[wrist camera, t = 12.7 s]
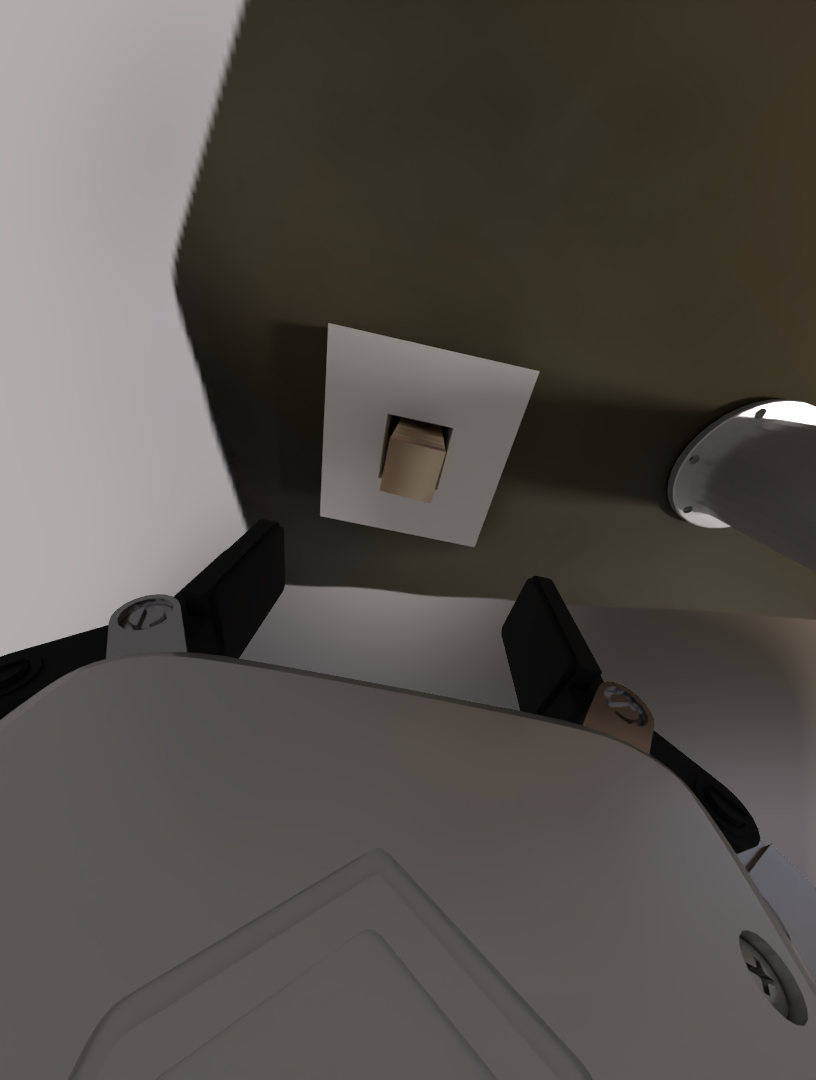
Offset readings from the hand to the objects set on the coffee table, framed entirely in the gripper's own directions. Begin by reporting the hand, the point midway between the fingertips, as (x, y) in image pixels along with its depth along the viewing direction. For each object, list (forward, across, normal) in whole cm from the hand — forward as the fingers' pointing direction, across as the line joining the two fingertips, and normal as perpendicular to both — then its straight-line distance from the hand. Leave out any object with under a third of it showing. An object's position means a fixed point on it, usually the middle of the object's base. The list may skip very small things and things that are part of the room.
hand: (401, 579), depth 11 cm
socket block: (+22, +1, 0) cm, 22 cm away
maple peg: (+22, 0, 0) cm, 22 cm away
